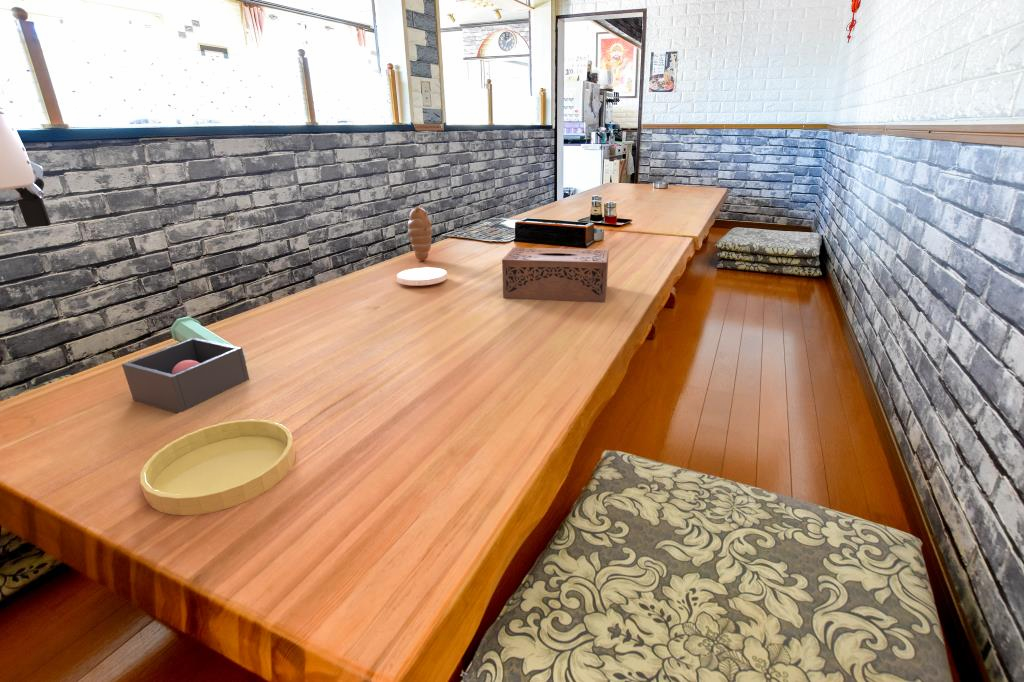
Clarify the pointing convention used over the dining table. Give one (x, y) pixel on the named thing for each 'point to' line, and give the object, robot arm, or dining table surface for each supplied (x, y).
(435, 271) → the plastic lid
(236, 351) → the bin
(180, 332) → the container
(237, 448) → the tray
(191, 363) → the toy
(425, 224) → the croissant
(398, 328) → the dining table surface
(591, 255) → the tissue box cover
